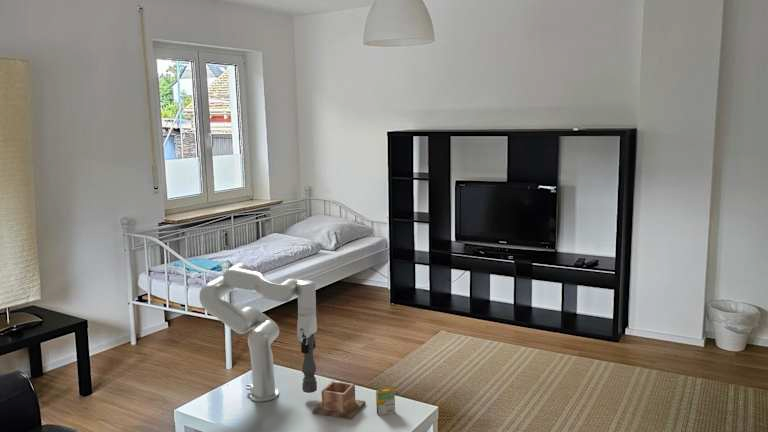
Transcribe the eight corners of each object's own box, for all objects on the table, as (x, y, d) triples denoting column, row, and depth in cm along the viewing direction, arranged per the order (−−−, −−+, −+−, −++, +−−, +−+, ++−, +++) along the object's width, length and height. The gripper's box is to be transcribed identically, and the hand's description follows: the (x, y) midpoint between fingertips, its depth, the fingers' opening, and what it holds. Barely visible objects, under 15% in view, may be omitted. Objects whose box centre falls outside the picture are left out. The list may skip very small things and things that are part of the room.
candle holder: (314, 393, 270) (312, 337, 266) (300, 392, 272) (298, 336, 267) (318, 387, 276) (317, 332, 272) (305, 386, 278) (303, 331, 273)
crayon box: (393, 410, 263) (392, 383, 261) (395, 413, 260) (394, 386, 258) (376, 412, 261) (375, 386, 259) (378, 416, 258) (377, 389, 256)
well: (312, 413, 262) (311, 391, 260) (327, 398, 275) (326, 378, 273) (352, 419, 255) (351, 397, 254) (365, 404, 268) (364, 383, 267)
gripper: (308, 303, 277) (309, 342, 280) (289, 315, 261) (290, 356, 264) (324, 304, 274) (325, 344, 277) (305, 317, 259) (306, 359, 262)
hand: (308, 350), depth 271 cm, fingers closed on candle holder, 5 cm apart
